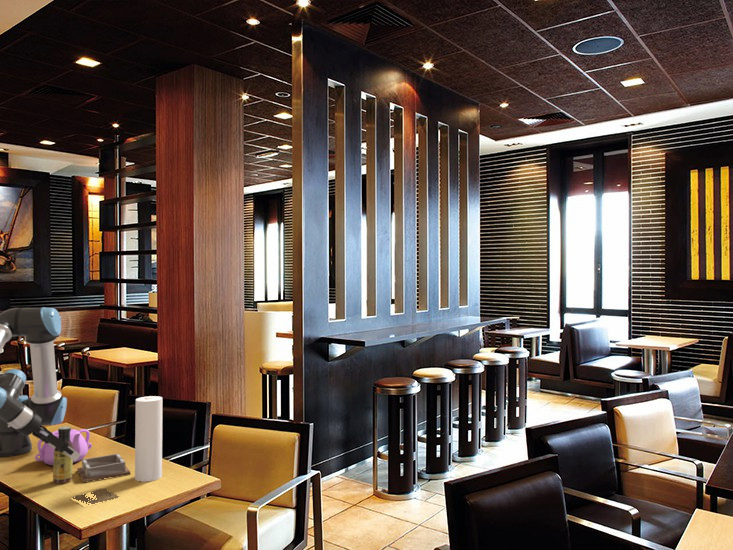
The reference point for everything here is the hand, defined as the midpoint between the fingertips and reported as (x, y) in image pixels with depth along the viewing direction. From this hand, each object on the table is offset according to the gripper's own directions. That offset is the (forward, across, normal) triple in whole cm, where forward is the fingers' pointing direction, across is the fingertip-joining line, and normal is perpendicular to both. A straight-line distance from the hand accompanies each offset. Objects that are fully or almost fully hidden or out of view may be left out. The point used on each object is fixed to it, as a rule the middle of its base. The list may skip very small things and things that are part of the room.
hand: (70, 454), depth 205 cm
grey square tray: (+15, +2, +2) cm, 15 cm away
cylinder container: (+21, +20, +8) cm, 30 cm away
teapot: (+12, -22, -2) cm, 25 cm away
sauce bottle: (+5, 0, -9) cm, 10 cm away
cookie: (+6, +24, -8) cm, 26 cm away
